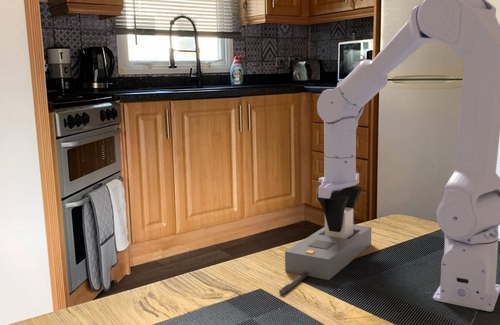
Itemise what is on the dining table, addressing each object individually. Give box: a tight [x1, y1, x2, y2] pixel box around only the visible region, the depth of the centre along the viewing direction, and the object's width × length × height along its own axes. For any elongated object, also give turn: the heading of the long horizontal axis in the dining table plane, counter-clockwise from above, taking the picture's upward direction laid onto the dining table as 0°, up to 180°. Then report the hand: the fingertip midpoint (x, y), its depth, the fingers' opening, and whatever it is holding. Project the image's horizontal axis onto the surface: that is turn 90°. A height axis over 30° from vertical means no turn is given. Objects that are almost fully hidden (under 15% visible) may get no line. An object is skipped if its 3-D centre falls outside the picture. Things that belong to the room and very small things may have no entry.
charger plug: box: [324, 207, 354, 239], centre depth 95 cm, size 4×4×5 cm
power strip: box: [278, 223, 372, 295], centre depth 89 cm, size 29×8×4 cm, turn 147°
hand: (339, 227), depth 95 cm, fingers closed on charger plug, 4 cm apart
